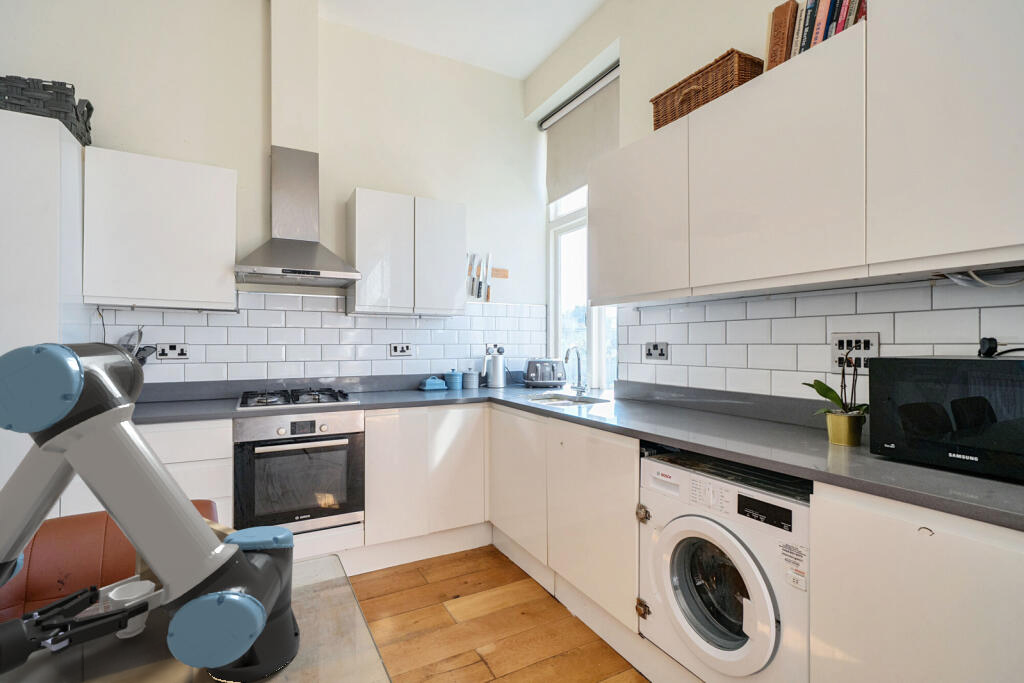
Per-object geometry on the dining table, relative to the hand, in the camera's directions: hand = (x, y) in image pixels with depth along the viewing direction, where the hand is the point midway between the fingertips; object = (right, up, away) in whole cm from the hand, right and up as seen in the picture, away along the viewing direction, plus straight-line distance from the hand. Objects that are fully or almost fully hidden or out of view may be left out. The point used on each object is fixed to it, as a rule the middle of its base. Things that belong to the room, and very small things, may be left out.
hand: (151, 588), depth 93 cm
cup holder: (+3, -8, +5) cm, 10 cm away
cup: (-2, -6, -4) cm, 8 cm away
